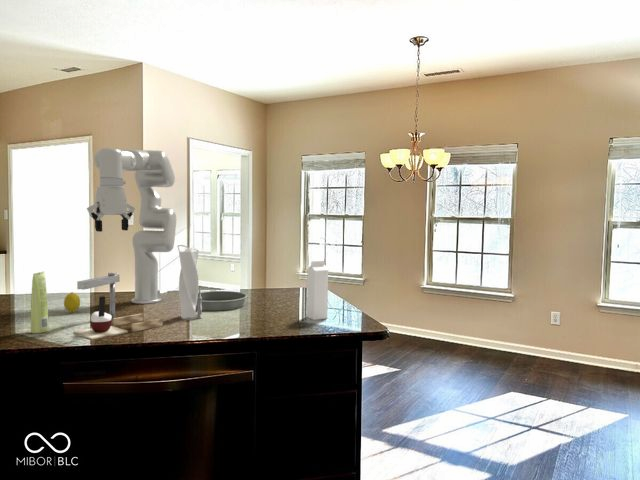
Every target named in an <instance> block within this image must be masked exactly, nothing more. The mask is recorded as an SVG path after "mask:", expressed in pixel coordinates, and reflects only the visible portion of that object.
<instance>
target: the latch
mask: <svg viewBox="0 0 640 480" xmlns="http://www.w3.org/2000/svg"><path fill="white" fill-rule="evenodd" d="M107 274H108V275H103V276H98V277H93V278H89V279H88V278H87V279H83V280H77V282H76V285H77V287H76V289H77V290H82V291H83V290H89V289H92V288H97V287H98V288H99V287H101V286H102V287H103V286H107V285H109V314H110V315H111V316H112V318H111V319H112V320H113V318H116V283H119V282H120V280H121V279H120V274H117V272H108V273H107Z"/></svg>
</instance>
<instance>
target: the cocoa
mask: <svg viewBox="0 0 640 480" xmlns="http://www.w3.org/2000/svg"><path fill="white" fill-rule="evenodd" d="M98 299H99V300H98V311H94V312H93V313H92V314H91V316H90V328H92V330H93V331H95V332H106V331H108V330H109V329H110V327H111V326H112V324H113V319H111V318H112V316H111V315H110V313H107V312H105V311H106V296H99V298H98Z"/></svg>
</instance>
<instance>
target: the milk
mask: <svg viewBox="0 0 640 480" xmlns="http://www.w3.org/2000/svg"><path fill="white" fill-rule="evenodd" d="M325 263H326V261H325V260H317V261H315V260H311V262H310V266H309V267H308V268H307V277H306V278H307V282H306V283H307V285H306V288H307V290H306V317H307V318H309V319H311V320H313V321H317V320H324V319H328V309H329V308H328V306H329V305H328V302H329V301H328V300H329V293H328V292H329V269H328V268H327V266H326V264H325Z"/></svg>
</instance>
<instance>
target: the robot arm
mask: <svg viewBox="0 0 640 480" xmlns="http://www.w3.org/2000/svg"><path fill="white" fill-rule="evenodd" d="M93 161H94V165H95V166H96V168H98V169H99V171H98V173H99V186H96V191H95V192H96V193H95V198H94V199H95V200H94V203H93V204H92V205H89V206H88V207H87V208H86V210H87V212H88V215H89V216H90V217H91V218H92V219H93V220H94V229H95V231H96V232H99V233H100V232H102V233H103V220H101V219H102V218H103V217H104V215H105V216H106V215H107V216H115V215H119V216H120V217H121V218H122V219H121V222H120V223H121V230H122V231H128V230H129V220H130V219H131V217H132V216H133V214H134V212H135V209H136V208H135V207H134V206H132V205H131V204H129V203H128V202H127V195H126V194H127V193H126V190H125V187H123V186H124V185H126V180H124V179H123V171H124V172H125V171H126V172H134V181H135V183H136V186H137V188H138V191H139V193H140V196H141V197H140V198H141V199H140V209H139V216H138V217H139V218H138V223H139V225H140V227H141V228H143V229H145V230H138V231H136V232H134V234H133V235H132V238H131V239H132V246H133V252H134V253H133V254H134V297H133V298H131V301H130V302H131V303H133V304H138V305H139V304H144V305H145V304H154V303H160V302H161V301H162V296H166V295H168V291H167V290H159V289H158V287H159V285H158V283H159V281H158V279H159V278H158V276H159V275H158V274H159V273H158V269H159V268H158V267H159V264H158V259H157V258H156V256H155V255H154V253H169V252H172V251H173V249H174V248H175V247H174V246H175V237H176V229H177V213H176V211H175V210H174V209H172V208H170V207H162V206H161V205H162V198H161V196H160V194H159V193H158V192H157V191H156V190H155V188H171V187H172V186H174V185H175V182H176V181H175V179H176V177H175V172H174V170H173V167H172V164H171V162H170V159H169V157H168V155H167V154H166V153H165V152H164V151H163V150H151V149H150V150H147V149H145V150H142V149H119V148H112V147H111V148H110V147H107V148H106V147H104V148H100V149H99V150H98V151H96V152H95V154H94V157H93ZM147 229H150V230H147ZM151 229H152V230H151ZM154 229H155V230H154Z"/></svg>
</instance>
